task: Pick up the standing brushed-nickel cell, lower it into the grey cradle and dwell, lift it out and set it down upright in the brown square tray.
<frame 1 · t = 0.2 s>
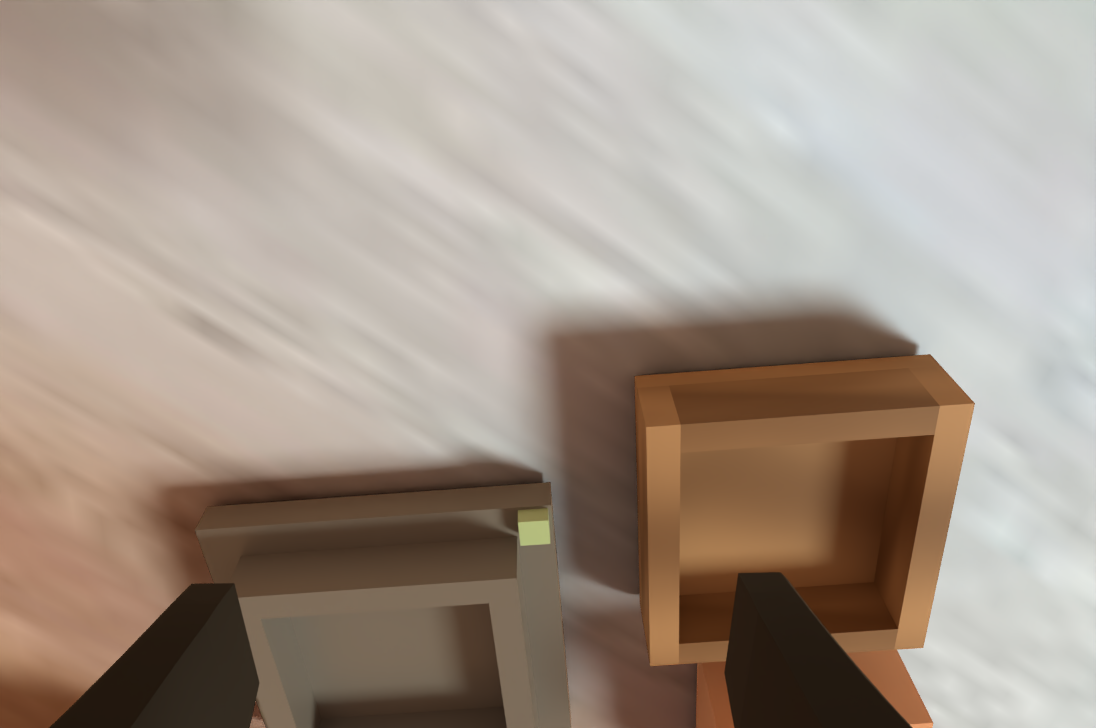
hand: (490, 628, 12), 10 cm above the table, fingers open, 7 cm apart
cradle: (405, 619, 25), on the table
brown square tray: (772, 489, 23), on the table
orange square box: (786, 702, 27), on the table
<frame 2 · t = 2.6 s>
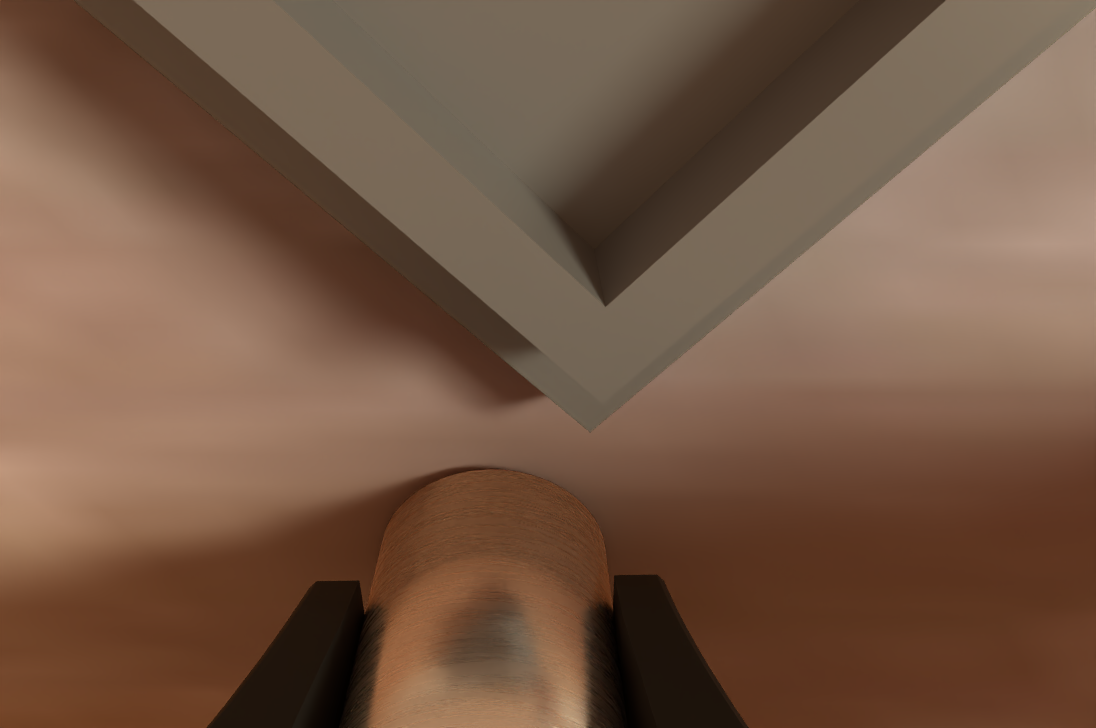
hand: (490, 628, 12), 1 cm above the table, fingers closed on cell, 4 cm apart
cell: (493, 560, 13), on the table, touching gripper
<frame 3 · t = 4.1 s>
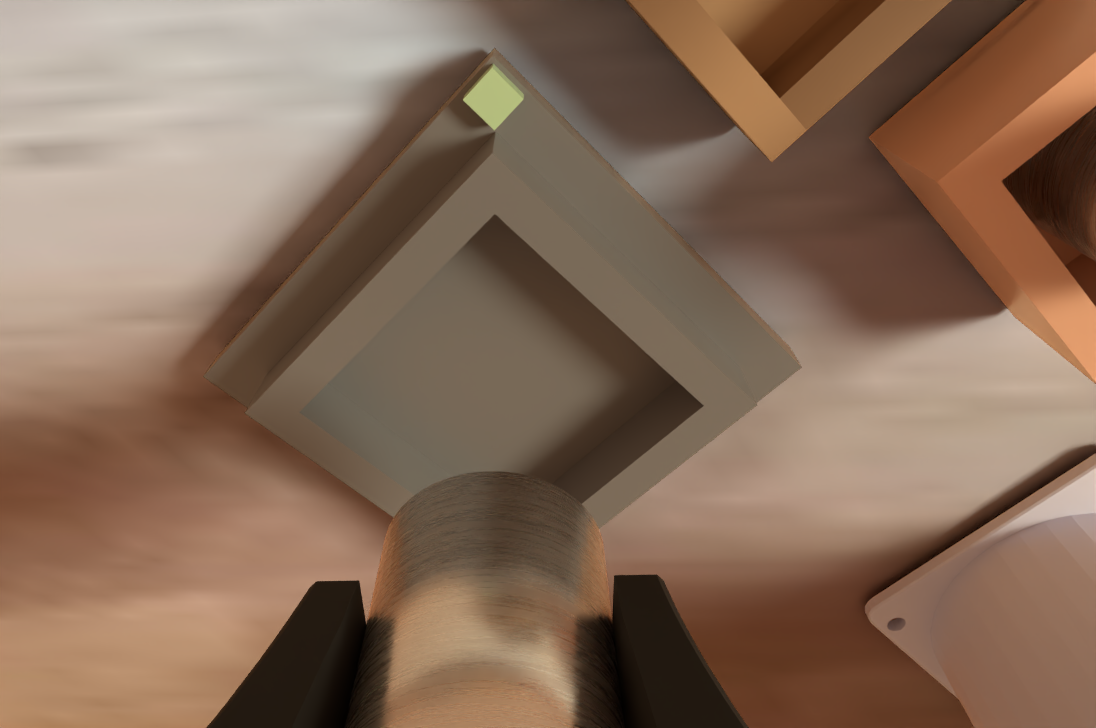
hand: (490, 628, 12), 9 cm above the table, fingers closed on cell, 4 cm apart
cell: (494, 558, 13), point 7 cm above the table, touching gripper
cradle: (505, 351, 20), on the table
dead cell: (1085, 141, 17), point 1 cm above the table, touching orange square box
orange square box: (1068, 135, 17), on the table
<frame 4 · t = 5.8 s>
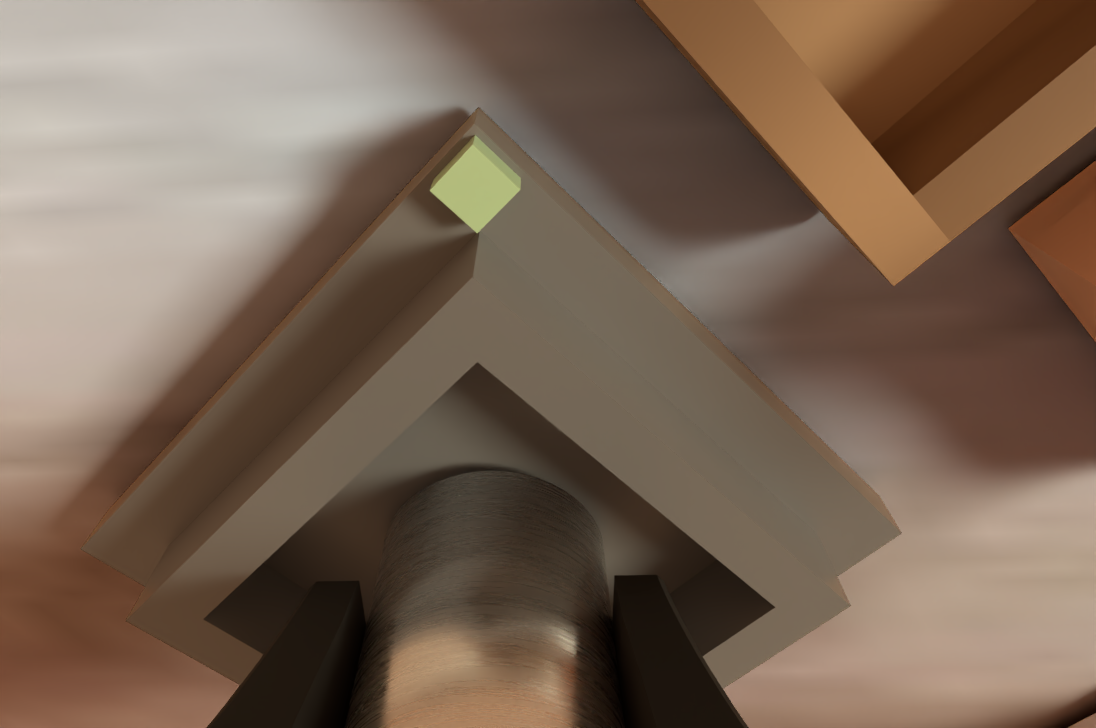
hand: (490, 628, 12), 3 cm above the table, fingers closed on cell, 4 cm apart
cell: (494, 557, 13), point 1 cm above the table, touching gripper
cradle: (496, 503, 14), on the table
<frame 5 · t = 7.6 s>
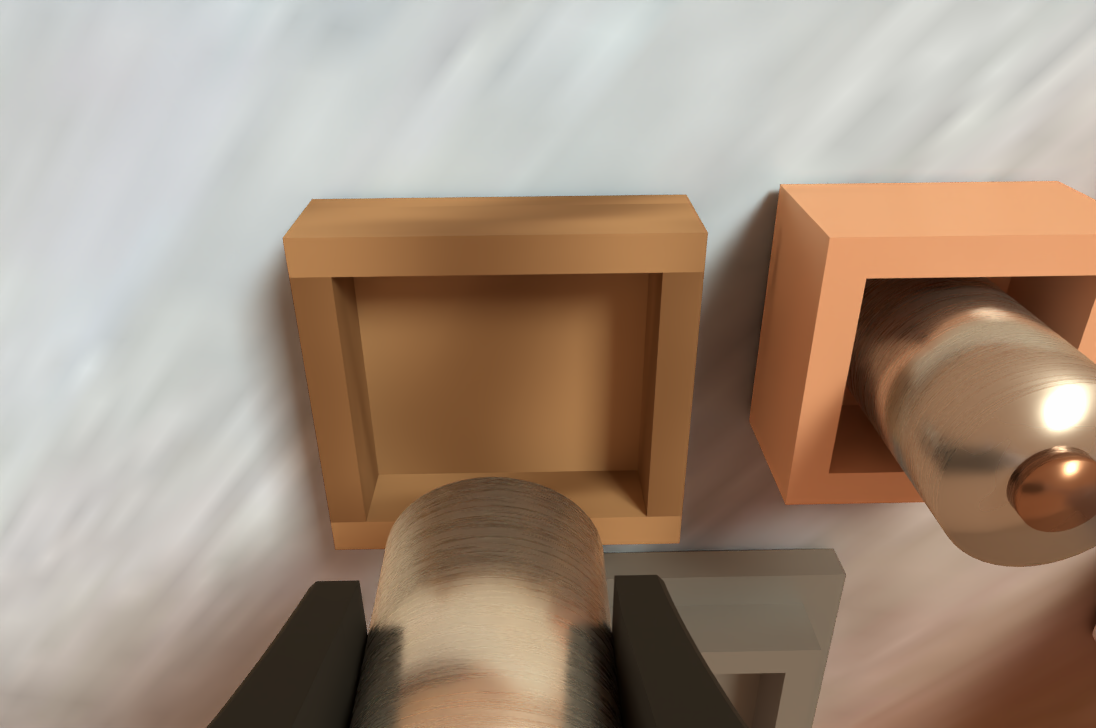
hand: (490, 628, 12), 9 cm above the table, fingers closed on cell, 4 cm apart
cell: (494, 560, 14), point 7 cm above the table, touching gripper
cradle: (649, 674, 25), on the table
brown square tray: (505, 353, 19), on the table
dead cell: (902, 321, 19), point 1 cm above the table, touching orange square box
orange square box: (892, 309, 19), on the table
when the fingers open (3 cm above the table, at t = 9.0 s): cell stays where it is, resting on brown square tray.
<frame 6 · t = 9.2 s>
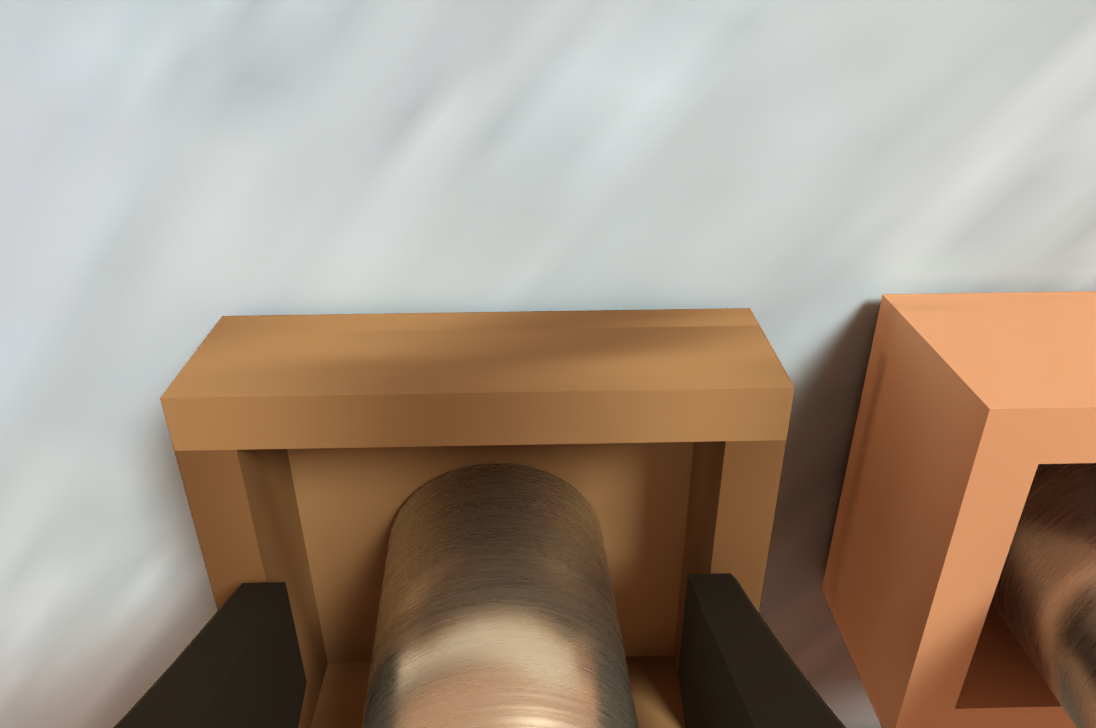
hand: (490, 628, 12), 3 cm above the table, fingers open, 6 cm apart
cell: (496, 549, 14), point 1 cm above the table, touching brown square tray
brown square tray: (496, 510, 14), on the table
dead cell: (1043, 474, 13), point 1 cm above the table, touching orange square box
orange square box: (1024, 453, 14), on the table
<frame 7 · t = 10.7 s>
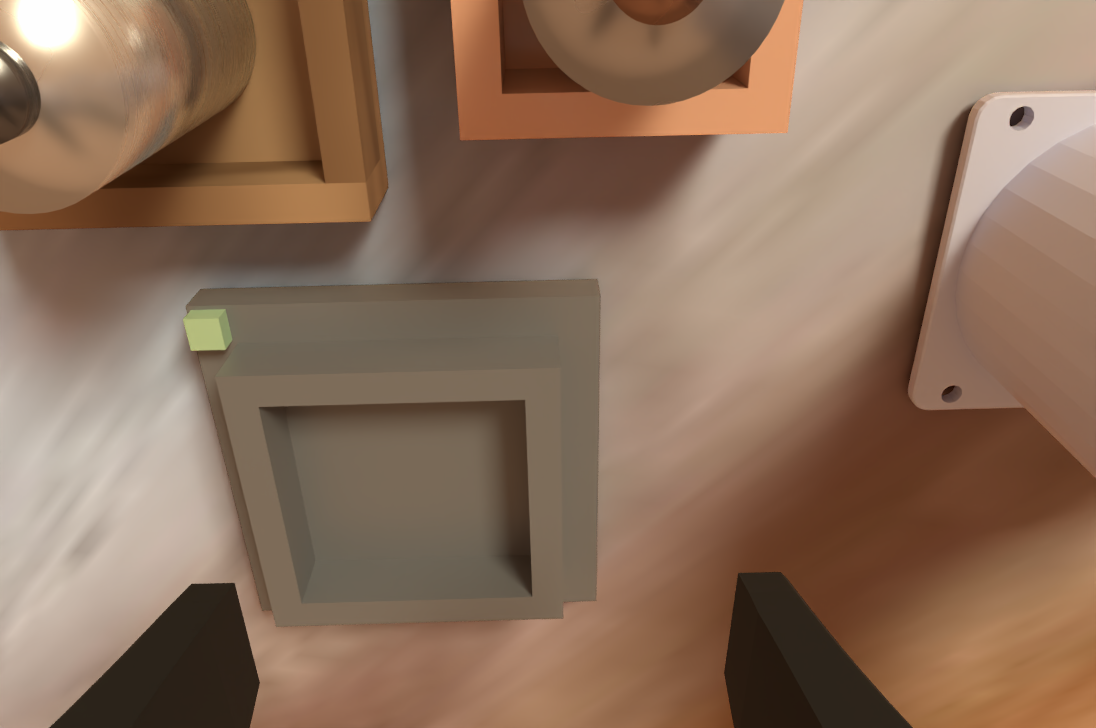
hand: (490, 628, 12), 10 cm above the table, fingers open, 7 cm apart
cell: (165, 29, 16), point 1 cm above the table, touching brown square tray
cradle: (418, 447, 22), on the table
brown square tray: (173, 10, 17), on the table
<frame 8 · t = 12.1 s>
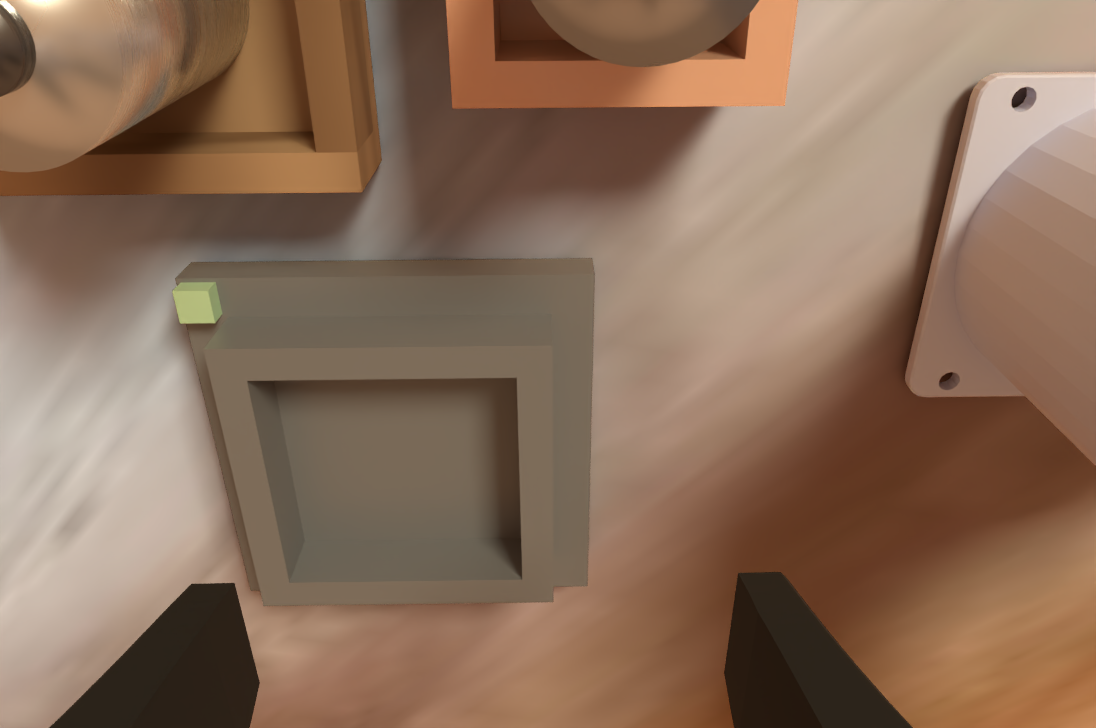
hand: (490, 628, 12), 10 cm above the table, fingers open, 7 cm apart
cradle: (409, 428, 22), on the table
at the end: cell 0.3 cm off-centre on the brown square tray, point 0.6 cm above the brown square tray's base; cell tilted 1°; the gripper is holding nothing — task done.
